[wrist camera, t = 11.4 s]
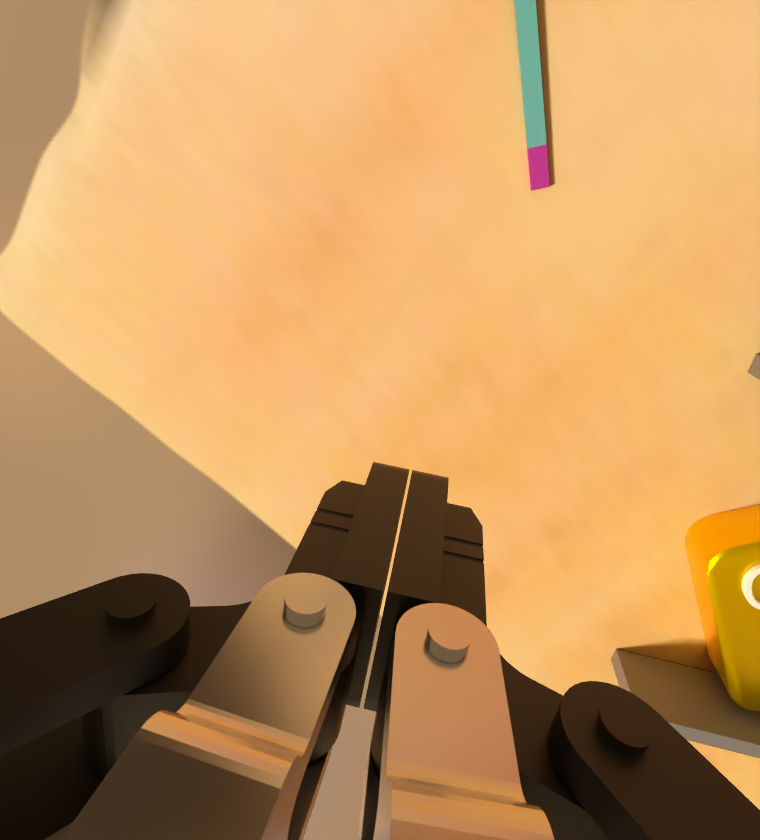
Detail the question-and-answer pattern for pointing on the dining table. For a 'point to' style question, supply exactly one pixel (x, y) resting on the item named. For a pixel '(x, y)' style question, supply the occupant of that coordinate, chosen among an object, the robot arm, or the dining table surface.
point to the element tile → (730, 597)
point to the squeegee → (532, 92)
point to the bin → (692, 694)
